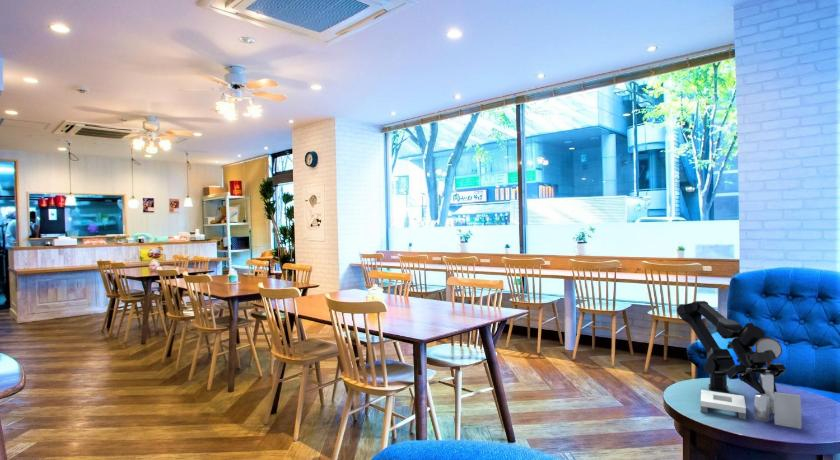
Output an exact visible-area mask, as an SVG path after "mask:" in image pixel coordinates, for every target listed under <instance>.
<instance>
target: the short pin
mask: <svg viewBox="0 0 840 460" xmlns="http://www.w3.org/2000/svg"><path fill="white" fill-rule="evenodd" d="M753 395H754V398H753V399H754V419H755V420H756V421H758V422H763V423H769V422H770V414H769V396H768V395H765V394H760V393H759V392H757V393H754V394H753Z"/></svg>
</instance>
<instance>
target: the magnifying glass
mask: <svg viewBox="0 0 840 460" xmlns="http://www.w3.org/2000/svg"><path fill="white" fill-rule="evenodd" d="M754 349H755V352H764V351H767V350H772V351H773V352H774V353H775V356H776V359H773V361H774V360H777V359H779V357H781V355H782V352H783V347H782V345H781V344H780V342H779V341H777V340H776V339H774V338H770V337H764V338H763V339H762V340H761V341H760V342H758V343H757V344H756V345H755V346H754ZM766 363H767V364H766V368H767V367H768V366H769V365H770V364H772V362H771V361H770V362H766Z"/></svg>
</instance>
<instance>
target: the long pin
mask: <svg viewBox="0 0 840 460" xmlns="http://www.w3.org/2000/svg"><path fill="white" fill-rule="evenodd" d="M758 375H759V376H758V377H759V380H758V381H759V383H760V384H761V386H762V388H763V390H764V392H765V395H768V396H769V415H774V375H773V374H770V373H764V372H761V373H759V374H758ZM759 394H761V393H759Z"/></svg>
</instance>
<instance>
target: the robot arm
mask: <svg viewBox="0 0 840 460" xmlns="http://www.w3.org/2000/svg"><path fill="white" fill-rule="evenodd" d="M676 312H677V314H678V316H679V317H680V319H681V320H682V321H683V322H685V323H687V324H688V325H690V328H691V329H692V330H693V332H694V334H695V335H696V337H697V339H698V340H699V342H700V343H701V345H702V347H703V348H704V350H705V351H706V361H707V362H706V363H705V364H704V365H703V371H704V373H707V374H709V383H708V389H709V390H710V391H717V392H724V393H726V392H727V393H729V386H728V379H729V380H737V379H738V378H739V375H740V377H741V378H739V381H741V382H744V383H745V384H747V385H748V386H750V387H751V388H753V389H754V390H755V391H756V392H757V393H759V394H760V393H761V394H765V392H764V390H763V388H762V386H761V384H760V383H759V380H758V377H757V375H759V373H761V372H764V373H770V374H773V375H774V392H778V391H777V386H776V385H777V384H776V379H777V378H779V377H780V376H781V375H782V374H784V373H785V372H786V371H787V368H786V367H785V365H784V363H780V362H779V363H778V362H777V363H772V362H774V360H777V359H776V356H775V353H774V352H773V351H772V350H767V351H764V352H756V351H754V349H753V347H755V346H756V344H757V343H758V342H760V341H761V340H762V339H763V338H765V336H766V334H765V331H764V330H763V329H762V328H760V327H759V326H757V325H755V324H754V323H753V322H747V323H745V325H744V326H743V325H742V324H740V323H739V322H737V321H735V320H732V319H730V318H727V317H725V316H724V315H723V314H721V313H720V312H719V311H717V310H716V309H715V308H714V307H712V305H710V304H709V302H707V301H705V300H696V301H693V302H690V303H681V304H679V305H678V306H677V307H676ZM702 316H703V317H704V318H705V319H706V320H707V321H709V322H710V323H711V324H712V325H713V326H714V327H715V330H716V333H718V335H719V336H720V337H721V338H722V339H724V340H729V339H731V341H730V340H729V341H728V343H727V345H726V348H721V347H720V346H719V344H718V343H717V341H716V340H715V338H714V337H713V335H712V334H711V332H710V331H709V329H708V327H707V326H706V324H705V323H704V321H703V320H702ZM730 350H732V351H733V352H734V354H735V355H736V358H737V359H736V362H737V363H739V364H736V363H735V360H734V356H732V354H731V352H730ZM773 359H774V360H773ZM770 361H771V364H770V365H769V366H768V367H767V362H770ZM765 366H766V367H765ZM775 378H776V379H775Z"/></svg>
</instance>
